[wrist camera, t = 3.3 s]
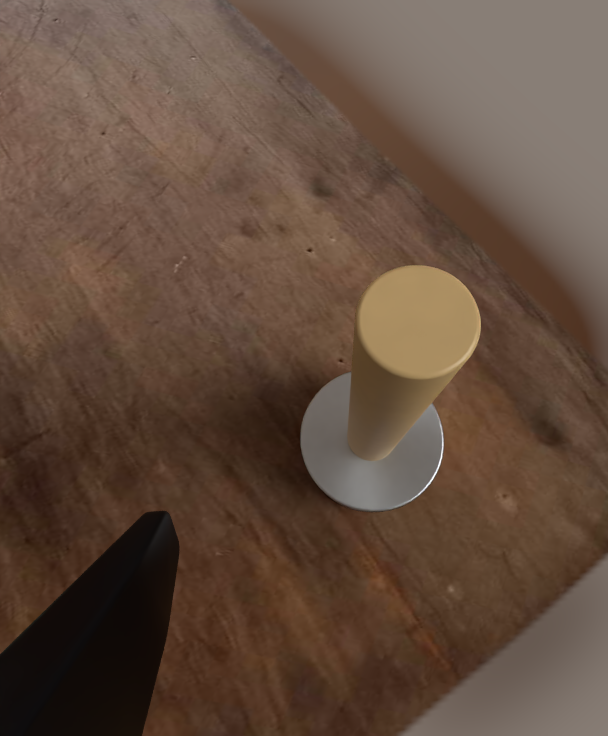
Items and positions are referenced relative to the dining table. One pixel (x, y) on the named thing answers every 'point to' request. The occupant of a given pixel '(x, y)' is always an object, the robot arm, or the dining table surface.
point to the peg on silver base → (391, 391)
